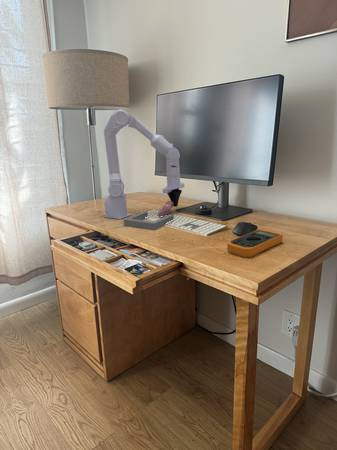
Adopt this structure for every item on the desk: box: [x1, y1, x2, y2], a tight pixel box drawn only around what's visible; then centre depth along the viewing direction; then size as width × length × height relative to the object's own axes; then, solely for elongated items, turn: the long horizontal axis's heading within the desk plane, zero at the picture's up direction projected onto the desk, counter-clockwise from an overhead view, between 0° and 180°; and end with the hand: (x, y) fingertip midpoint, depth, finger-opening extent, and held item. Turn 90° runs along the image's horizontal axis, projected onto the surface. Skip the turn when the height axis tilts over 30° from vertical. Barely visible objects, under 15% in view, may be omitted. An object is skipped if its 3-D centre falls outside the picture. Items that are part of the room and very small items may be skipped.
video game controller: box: [157, 200, 174, 217], centre depth 135 cm, size 10×5×7 cm, turn 170°
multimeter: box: [226, 228, 284, 258], centre depth 94 cm, size 9×18×3 cm, turn 130°
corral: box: [123, 211, 175, 231], centre depth 124 cm, size 15×13×2 cm
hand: (175, 206), depth 139 cm, fingers closed
